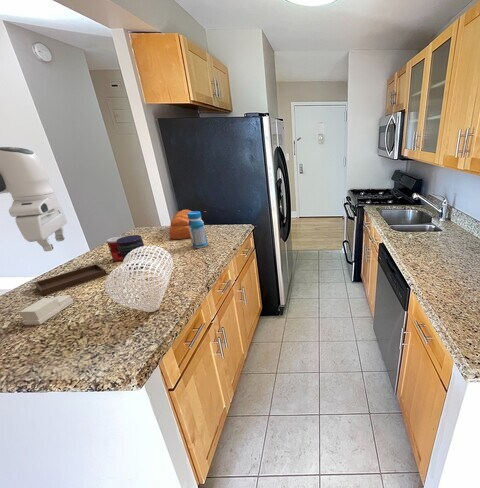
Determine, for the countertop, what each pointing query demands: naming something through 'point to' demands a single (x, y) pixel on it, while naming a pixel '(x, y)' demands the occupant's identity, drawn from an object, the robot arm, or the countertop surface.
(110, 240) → the canned food
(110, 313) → the countertop surface
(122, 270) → the white mesh basket
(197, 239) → the beverage bottle
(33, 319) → the white block
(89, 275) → the tray
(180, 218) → the bread
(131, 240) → the storage jar
